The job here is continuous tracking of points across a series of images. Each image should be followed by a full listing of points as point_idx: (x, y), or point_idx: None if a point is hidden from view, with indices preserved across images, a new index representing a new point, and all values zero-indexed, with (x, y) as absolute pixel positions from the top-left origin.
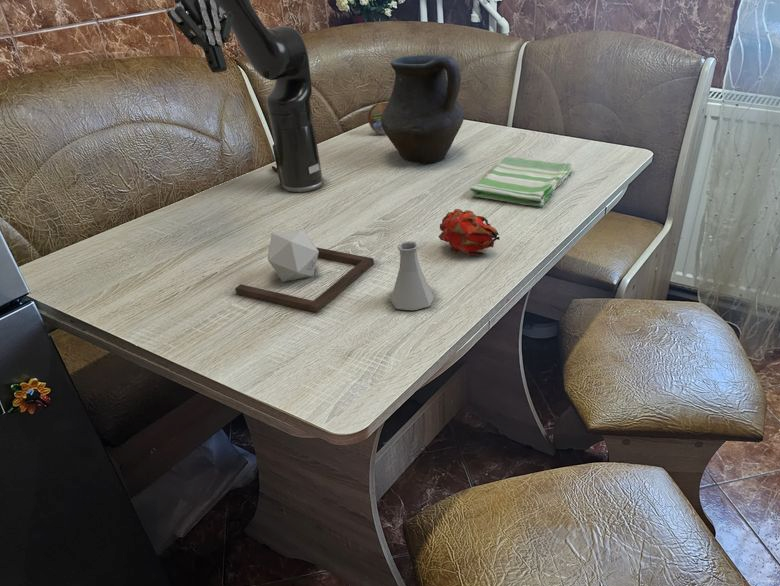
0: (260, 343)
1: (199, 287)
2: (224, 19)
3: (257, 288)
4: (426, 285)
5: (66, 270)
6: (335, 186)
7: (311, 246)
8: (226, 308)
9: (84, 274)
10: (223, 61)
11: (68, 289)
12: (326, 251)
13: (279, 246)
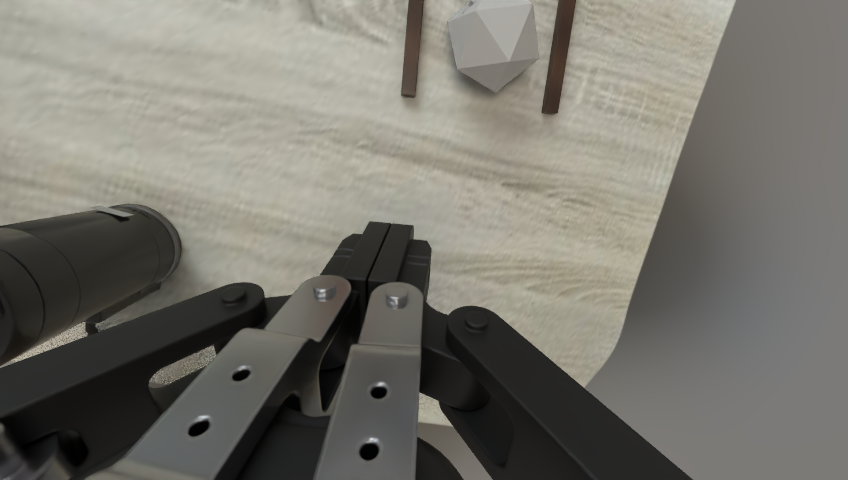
0: (658, 3)
1: (546, 180)
2: (24, 433)
3: (552, 77)
4: None
5: None
6: (111, 177)
7: None
8: (589, 105)
9: None
10: (371, 236)
11: (583, 344)
12: (415, 25)
13: (531, 33)
